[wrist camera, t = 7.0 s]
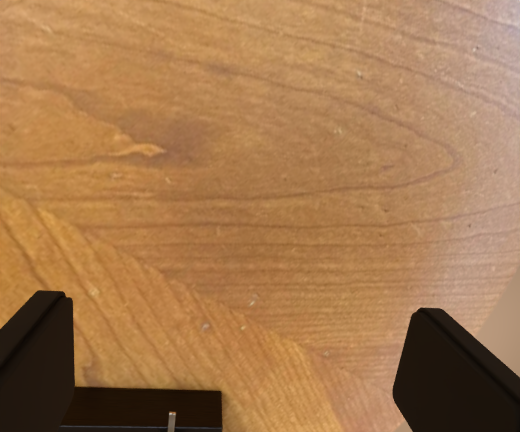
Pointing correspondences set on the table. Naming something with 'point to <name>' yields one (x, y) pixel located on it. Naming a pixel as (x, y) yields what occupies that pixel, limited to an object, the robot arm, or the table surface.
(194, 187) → the table surface
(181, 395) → the panel
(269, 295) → the table surface
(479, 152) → the table surface
